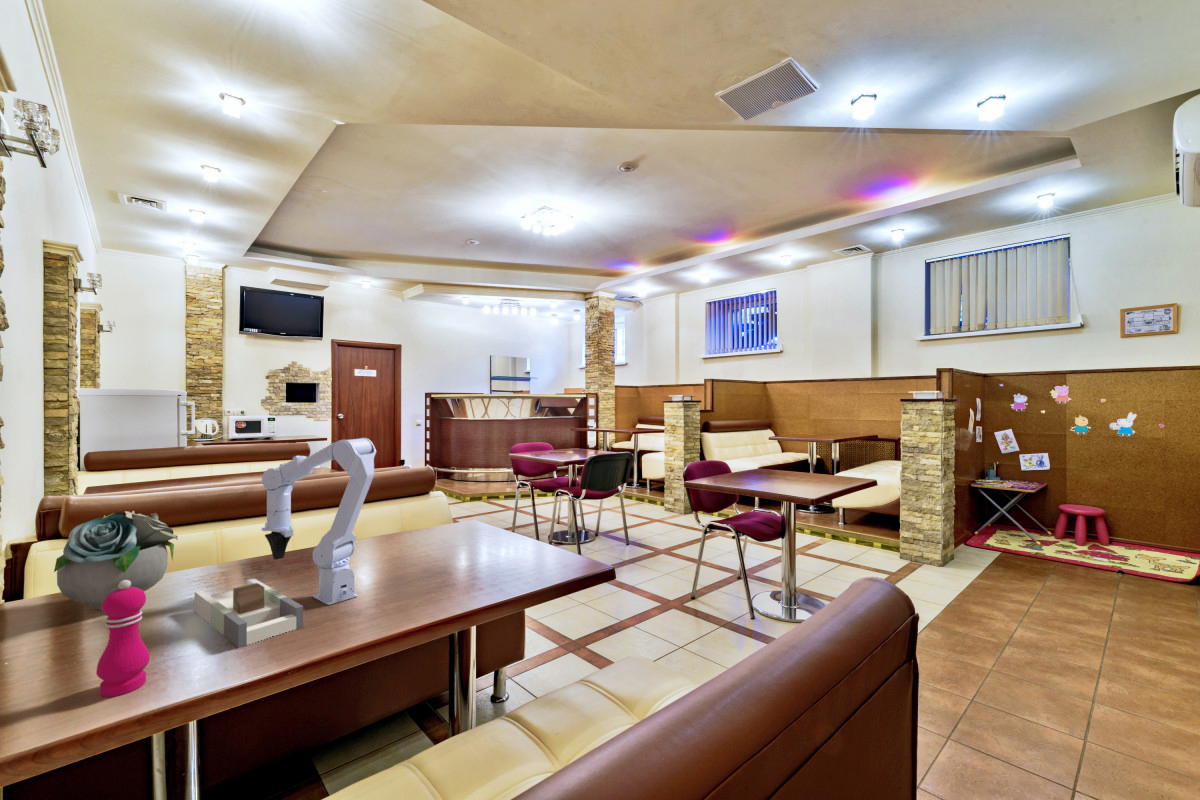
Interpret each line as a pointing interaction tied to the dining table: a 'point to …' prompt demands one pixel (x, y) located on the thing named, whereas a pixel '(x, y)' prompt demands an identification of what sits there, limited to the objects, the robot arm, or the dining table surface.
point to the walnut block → (248, 598)
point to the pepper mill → (123, 642)
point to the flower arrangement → (113, 556)
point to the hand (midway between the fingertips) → (278, 558)
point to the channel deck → (249, 615)
